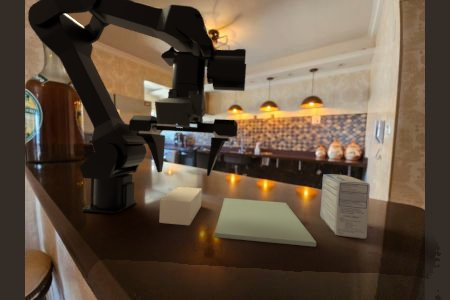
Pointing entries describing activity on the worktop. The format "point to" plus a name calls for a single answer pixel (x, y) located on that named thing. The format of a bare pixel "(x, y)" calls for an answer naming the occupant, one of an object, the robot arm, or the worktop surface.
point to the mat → (261, 223)
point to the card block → (180, 206)
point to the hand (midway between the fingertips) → (183, 173)
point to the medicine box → (345, 205)
